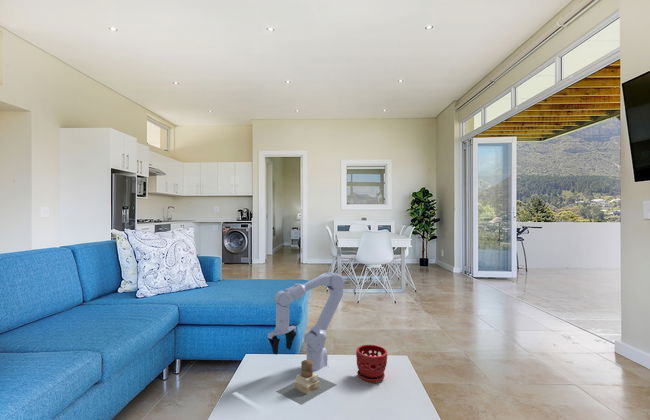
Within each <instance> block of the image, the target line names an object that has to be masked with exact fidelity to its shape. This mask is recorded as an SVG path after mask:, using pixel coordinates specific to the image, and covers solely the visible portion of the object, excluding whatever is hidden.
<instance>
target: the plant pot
mask: <svg viewBox="0 0 650 420" xmlns="http://www.w3.org/2000/svg"><path fill="white" fill-rule="evenodd" d="M370 351H371V352H370ZM355 352H356V353H355V354H356V366H357V369H358V370H357V371H356V373H357V376H358V378H359V379H360V380H362V381H363V382H366V383H367V382H368V383H375V384H376V383H379V382H381V381H383V380H384V378H385V376H386V375H385V370H386V368H387V364H388V351H387V349H386V348H384V347H383V346H380V345H376V344H362V345H359V346H358V347H357V348H356V351H355ZM379 353H380V355H379Z"/></svg>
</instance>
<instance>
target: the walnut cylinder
mask: <svg viewBox="0 0 650 420" xmlns="http://www.w3.org/2000/svg"><path fill="white" fill-rule="evenodd" d="M300 363H301V376H302V377H305V378H309V377H311V376H312V375H313V373H314V371H313V362H312V361H311V360H307V359H304V360H302V361H301V362H300Z"/></svg>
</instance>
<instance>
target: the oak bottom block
mask: <svg viewBox="0 0 650 420" xmlns="http://www.w3.org/2000/svg"><path fill="white" fill-rule="evenodd" d="M294 382H295V389H297V390H299V391H301V392H303V393H305V394H309V393H311V392H313V391H314V390H316V389H318V388H320V381H317V382H316V383H314V384H312V385H310V386H308V387H307V386H305V385H302V384H300V383H298V382H296V381H294Z"/></svg>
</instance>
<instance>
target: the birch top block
mask: <svg viewBox="0 0 650 420" xmlns="http://www.w3.org/2000/svg"><path fill="white" fill-rule="evenodd" d="M318 377H319V374H316V373H315V372H313V375H312V376H311V377H309V378H305V377H302V376H301V373H298V374H297V375H296V382H298V383H300V384H302V385H305V386H307V387H308V386H310V385H312V384H314V383H316V382H317V381H318Z"/></svg>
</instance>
